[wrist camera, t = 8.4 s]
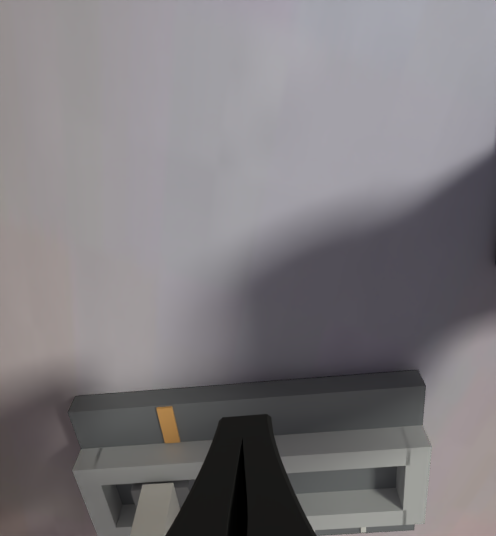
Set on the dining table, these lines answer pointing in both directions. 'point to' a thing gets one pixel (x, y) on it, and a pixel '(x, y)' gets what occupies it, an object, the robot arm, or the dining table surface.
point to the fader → (157, 505)
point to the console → (287, 440)
